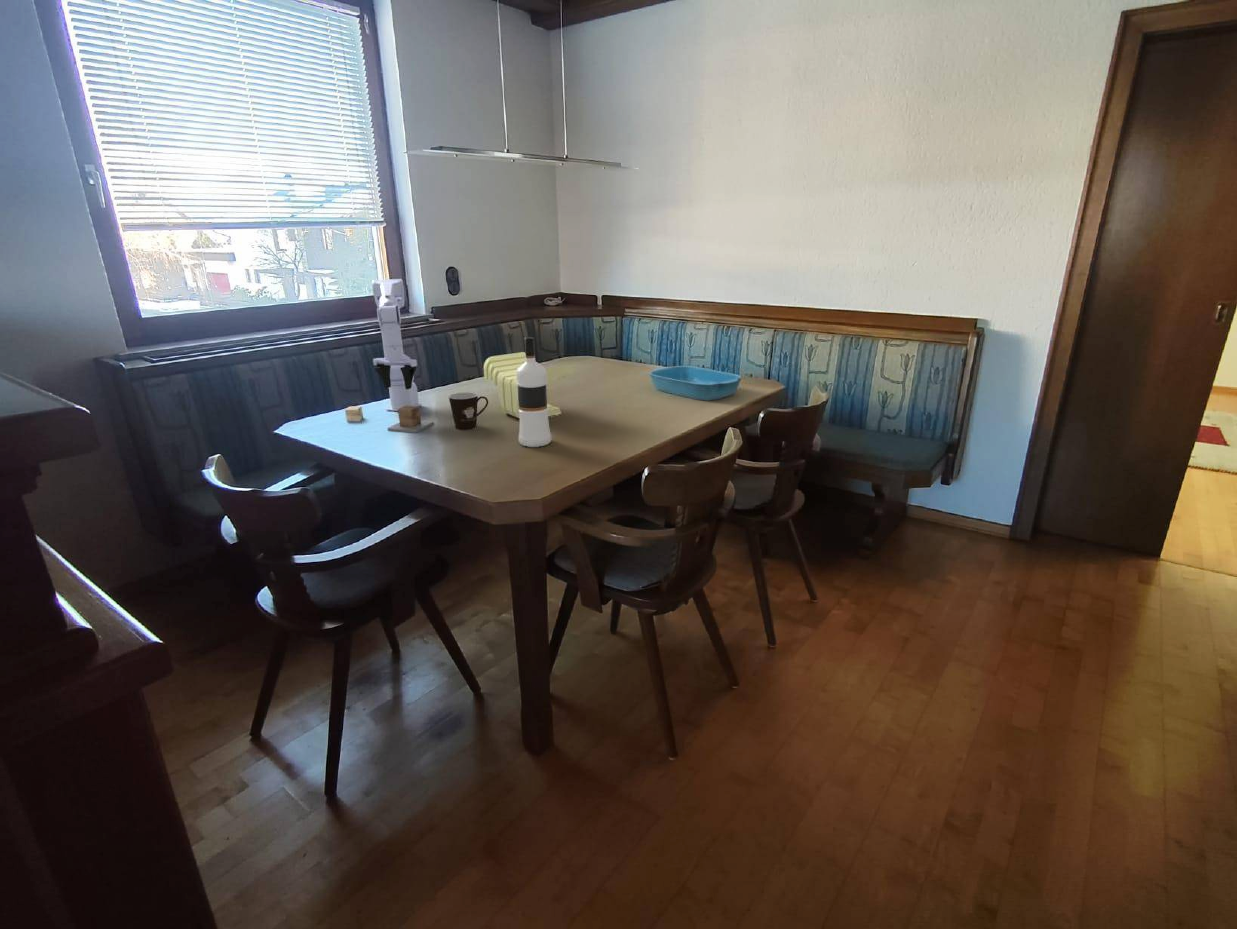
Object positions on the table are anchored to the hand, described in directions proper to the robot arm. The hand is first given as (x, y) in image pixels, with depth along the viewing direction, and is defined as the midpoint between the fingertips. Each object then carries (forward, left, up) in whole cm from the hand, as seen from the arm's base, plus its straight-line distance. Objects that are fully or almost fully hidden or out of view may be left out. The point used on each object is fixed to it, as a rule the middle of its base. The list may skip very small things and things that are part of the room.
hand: (398, 388), depth 207 cm
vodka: (+12, +52, -11) cm, 54 cm away
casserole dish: (-61, +84, -11) cm, 105 cm away
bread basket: (-16, +38, -11) cm, 42 cm away
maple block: (+4, -15, -11) cm, 19 cm away
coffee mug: (+2, +26, -11) cm, 28 cm away
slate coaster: (+7, +8, -10) cm, 15 cm away
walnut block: (+7, +8, -10) cm, 14 cm away
